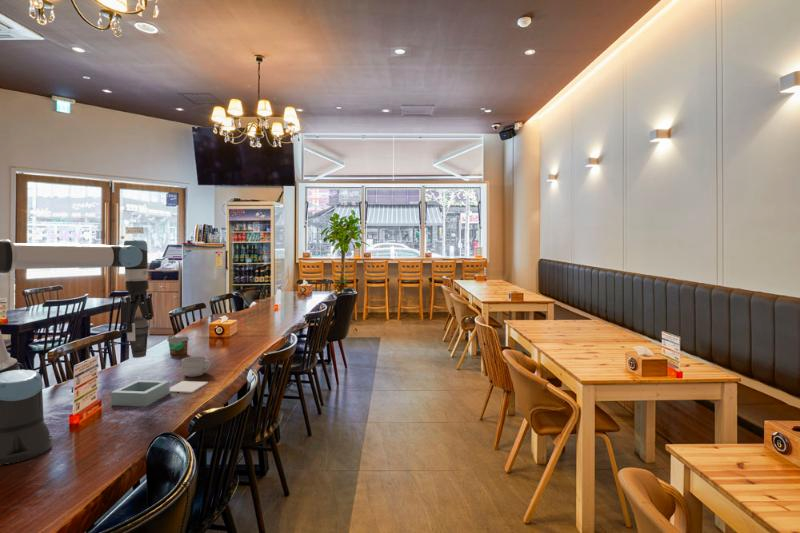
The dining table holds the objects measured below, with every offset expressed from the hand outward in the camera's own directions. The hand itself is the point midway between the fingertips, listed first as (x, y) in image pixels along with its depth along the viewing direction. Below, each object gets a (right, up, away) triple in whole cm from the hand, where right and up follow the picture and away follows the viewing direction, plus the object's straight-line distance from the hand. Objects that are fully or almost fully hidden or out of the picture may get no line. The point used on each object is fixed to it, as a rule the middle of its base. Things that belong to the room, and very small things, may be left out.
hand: (138, 338), depth 165 cm
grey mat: (+12, -23, +15) cm, 30 cm away
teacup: (+8, -23, +31) cm, 39 cm away
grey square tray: (0, -24, +2) cm, 24 cm away
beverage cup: (0, -7, 0) cm, 7 cm away
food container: (-21, -21, +66) cm, 72 cm away
